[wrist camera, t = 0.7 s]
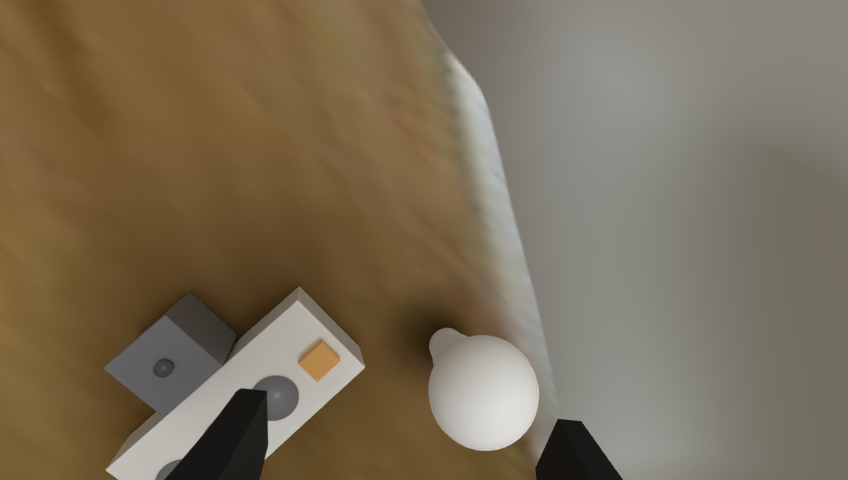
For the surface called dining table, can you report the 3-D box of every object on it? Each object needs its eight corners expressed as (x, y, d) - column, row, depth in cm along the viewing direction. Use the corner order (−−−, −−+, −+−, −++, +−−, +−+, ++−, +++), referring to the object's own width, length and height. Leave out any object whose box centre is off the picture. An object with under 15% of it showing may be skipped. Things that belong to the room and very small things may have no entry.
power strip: (201, 490, 30) (183, 541, 26) (129, 435, 28) (98, 479, 24) (359, 346, 31) (366, 372, 27) (299, 286, 30) (297, 303, 25)
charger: (206, 392, 29) (183, 438, 24) (138, 335, 28) (100, 370, 23) (253, 349, 29) (241, 386, 24) (190, 291, 28) (163, 316, 23)
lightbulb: (387, 325, 31) (426, 401, 21) (462, 285, 32) (535, 337, 22) (423, 395, 33) (476, 498, 22) (493, 354, 34) (577, 435, 23)
